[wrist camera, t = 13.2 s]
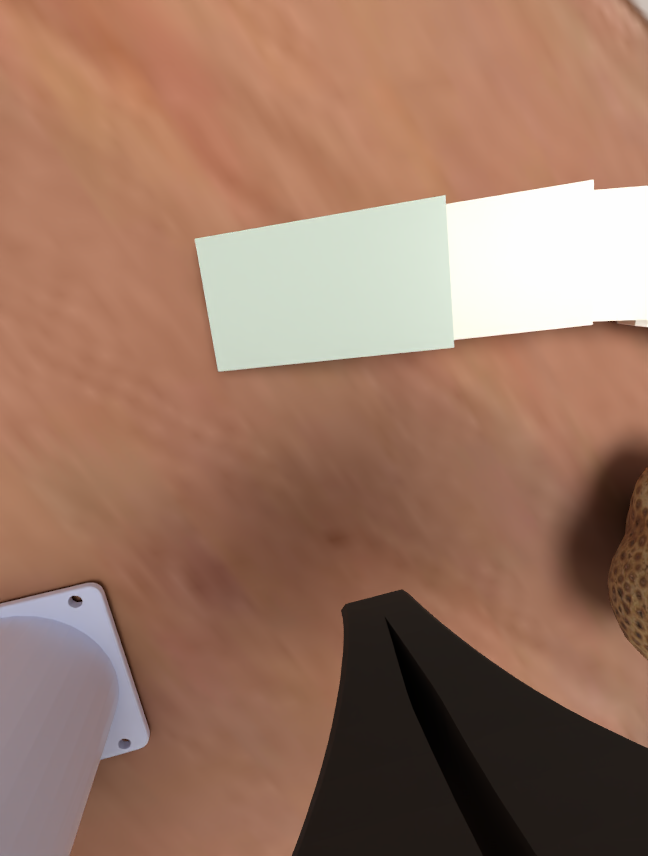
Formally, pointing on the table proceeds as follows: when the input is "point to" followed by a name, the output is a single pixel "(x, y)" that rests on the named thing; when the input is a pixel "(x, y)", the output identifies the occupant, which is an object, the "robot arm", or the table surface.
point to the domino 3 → (620, 254)
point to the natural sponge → (633, 571)
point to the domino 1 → (330, 287)
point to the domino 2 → (522, 261)
